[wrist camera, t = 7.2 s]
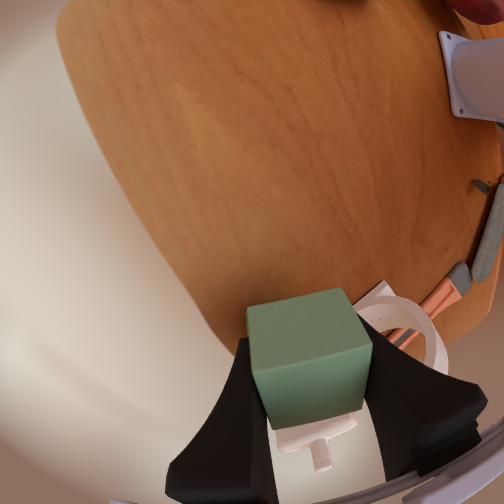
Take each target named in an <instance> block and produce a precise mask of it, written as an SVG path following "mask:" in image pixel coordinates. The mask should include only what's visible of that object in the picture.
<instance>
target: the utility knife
mask: <svg viewBox="0 0 504 504" xmlns="http://www.w3.org/2000/svg"><path fill="white" fill-rule="evenodd" d="M471 283H472V273H471V272H470V270H469V268H468V267H467V265H466V264H465V263H464V262H460V263H458V264H457V265H456V266H455V267H454V268H453V269H452V270H451V272H450V273H449V274H448V275H447V276H446V277H445V279H444V280H443V281H442V282H441V283H440V284H439V285H438V287H437V288H436V289H435V290H434V291H433V292H432V293H431V294H430V295H429V296H428V298H427V299H426V300H425V301H424V302H423V303H422V304H421V305H420V307H421V308H422V309H423V310H424V311H425V312H426V314H427V315H428V317H429V318H430V320H432V319H433V318H434V317H435V316H436V315H438V314H439V313H440V312H441V311H442V310H444V309H445V308H446V307H447V306H449V305H450V304H452V303H453V302H455V301H458V300H460V299H461V298H462V297H463V296H464V294H465V293H466V292H467V291H468V290H469V289H470V287H471ZM418 333H419V331H417V330H414V329H410V328H397V329H396V330H395V331H394V332H393V333H392V334H390V335H389V336H388V337H387V338H386V339H387V340H389V341H390V342H391V343H392V344H394V345H395V346H396V347H398V348H399V349H401V350H403V349H404V348H405V347H406V346H407V345H408V344H409V342H410V341H411V340H412V339H413V338H414V337H415V336H416V335H417V334H418Z"/></svg>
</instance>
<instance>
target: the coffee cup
mask: <svg viewBox="0 0 504 504" xmlns="http://www.w3.org/2000/svg"><path fill="white" fill-rule="evenodd" d="M352 307H353V308H354V310H355V312H356V313H358V314H359V315H360V316H361V317H362V318H363V319H364V320H365V321H367V322H368V323H369V324H370V325H371V326H372V327H373V328H374V329H375V330H377V331H378V332H379V333H381V332H383V331H386V330H389V329H394V328H410V329H414V330H417V331H419V332H421V333H423V334H424V335H425V340H426V356H425V361H424V365H426V366H428V367H430V368H432V369H434V370H437V371H439V372H441V373H443V374H445V375H448V357H447V352H446V349H445V346H444V344H443V342H442V340H441V338H440V336H439V334H438V332H437V331H436V329H435V327H434V325H433V323H432V322H431V320H430V318H429V317H428V315H427V314H426V312H425V311H424V310H423V309H422V308H421V307H420V306H419V305H418V304H416V303H415V302H413V301H411V300H409V299H406V298H403V297H398V296H396V295H395V294H394V292H393V291H392V289H391V288H390V287H389V285H388V284H387V283H386V282H385V280H383V281H382V282H381V283H380V284H379V285H377V286H376V287H375V288H374V289H373V290H371V291H370V292H369V293H368V294H367V295H365V296H364V297H363V298H362V299H361V300H359V301H358V302H357V303H356V304H354V305H353V306H352Z"/></svg>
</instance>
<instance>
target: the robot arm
mask: <svg viewBox="0 0 504 504" xmlns="http://www.w3.org/2000/svg"><path fill="white" fill-rule="evenodd" d="M447 36H448V38H447ZM439 38H440V42H441V47H442V51H443V56H444V61H445V66H446V71H447V77H448V84H449V91H450V98H451V107H452V113H453V115H454V116H457V117H466V118H475V119H483V120H490V121H496V122H502V123H504V38H492V39H482V40H474V41H473V40H470V39H467V38H464V37H461V36H458V35H455V34H452V33H449V32H446V31H440V32H439ZM460 111H461V113H460ZM356 314H357V316H358V317H359V319H360V321H361V323H362V325H363V327H364V328H365V330H366V332H367V334H368V336H369V338H370V340H371V342H372V343H373V347H372V354H371V361H370V367H369V373H368V379H367V385H366V390H365V395H364V399H365V401H366V403H367V406H368V408H369V411H370V414H371V418H372V421H373V424H374V428H375V432H376V435H377V439H378V443H379V447H380V452H381V456H382V461H383V466H384V471H385V478H386V483H383V484H380V485H378V486H375V487H372V488H369V489H366V490H363V491H360V492H356V493H353V494H350V495H346V496H343V497H339V498H335V499H331V500H327V501H322V502H318V503H313V504H370V503H373V502H376V501H379V500H382V499H385V498H387V497H390V496H392V495H395V494H397V493H400V492H402V491H404V490H407V489H409V488H411V487H414V486H416V485H418V484H420V483H422V482H424V481H426V480H428V479H430V478H432V477H434V476H435V478H434V479H432V480H430V481H429V482H427V483H425V484H423V485H421V486H419V487H417V488H415V489H414V490H413V491H412V492H411V493H409V494H408V495H406V496H404V497H403V498H402V501H403V503H402V504H460V503H462V502H463V501H465V500H466V499H468V498H469V497H471V496H472V495H474V494H475V493H476V492H478V491H479V490H481V489H482V488H483V487H485V486H486V485H487V484H488V483H490V482H491V481H492V480H493V479H495V478H496V477H497V476H499V475H500V474H501V473H502V472H503V471H504V417H503V418H502V419H500V420H499V421H498V422H496V423H495V424H493V425H492V426H491V427H489V428H488V429H487V430H485V431H484V432H482V433H481V434H479V433H478V431H477V429H476V428H477V427H478V423H477V421H476V418H477V417H478V416H479V415H480V413H481V412H482V411H483V410H484V408H485V407H486V405H487V402H488V400H487V398H486V396H485V394H484V393H483V391H482V390H481V388H480V387H479V386H478V385H477V384H473V383H470V382H466V381H463V380H459V379H456V378H453V377H451V376H448V375H445V374H443V373H441V372H439V371H437V370H434V369H432V368H430V367H428V366H426V365H424V364H423V363H421V362H419V361H417V360H416V359H414V358H412V357H411V356H409V355H408V354H406V353H405V352H403V351H402V350H401V349H399V348H398V347H396V346H395V345H394V344H392V343H391V342H390V341H389V340H387V339H386V338H385V337H384V336H383V335H381V334H380V333H379V332H378V331H377V330H375V329H374V328H373V327H372V326H371V325H370V324H369V323H368V322H367V321H365V320H364V319H363V318H362V317H361V316H360V315H359V314H358V313H356ZM165 494H166V495H167V496H168V497H170V498H172V499H174V500H176V501H178V502H180V503H182V504H279V500H278V495H277V489H276V484H275V478H274V472H273V465H272V459H271V452H270V446H269V439H268V431H267V414H266V411H265V408H264V406H263V403H262V400H261V397H260V394H259V392H258V389H257V386H256V383H255V380H254V377H253V375H252V369H251V356H250V343H249V337H245V338H241V339H240V340H239V343H238V348H237V352H236V356H235V359H234V362H233V365H232V368H231V371H230V374H229V376H228V379H227V382H226V384H225V386H224V389H223V391H222V393H221V395H220V397H219V399H218V401H217V403H216V405H215V407H214V408H213V410H212V412H211V413H210V415H209V417H208V418H207V420H206V421H205V423H204V424H203V426H202V427H201V429H200V430H199V431H198V433H197V434H196V435H195V437H194V438H193V439H192V440H191V442H190V443H189V444H188V445H187V447H186V448H185V449H184V450H183V451H182V452H181V453H180V454H179V455H178V456H177V457H176V458H175V459H174V460H173V461H172V462H171V463H170V465H169V468H168V472H167V476H166V486H165ZM109 504H137V503H133V502H128V501H123V500H119V499H114V498H110V499H109Z"/></svg>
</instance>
